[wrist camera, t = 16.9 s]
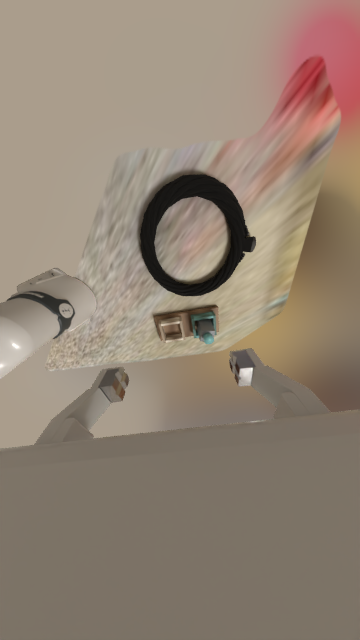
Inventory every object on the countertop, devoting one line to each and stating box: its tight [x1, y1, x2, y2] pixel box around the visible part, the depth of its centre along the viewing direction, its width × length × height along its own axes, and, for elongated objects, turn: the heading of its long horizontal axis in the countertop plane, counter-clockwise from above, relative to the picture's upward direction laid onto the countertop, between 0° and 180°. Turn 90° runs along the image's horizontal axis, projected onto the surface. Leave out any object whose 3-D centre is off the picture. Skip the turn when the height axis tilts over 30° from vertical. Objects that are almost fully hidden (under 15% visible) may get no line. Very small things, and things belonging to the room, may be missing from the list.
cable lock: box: [140, 175, 256, 296], centre depth 36 cm, size 28×4×30 cm
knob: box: [197, 319, 215, 344], centre depth 44 cm, size 4×4×10 cm
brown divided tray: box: [154, 306, 219, 343], centre depth 48 cm, size 22×10×4 cm, turn 100°
